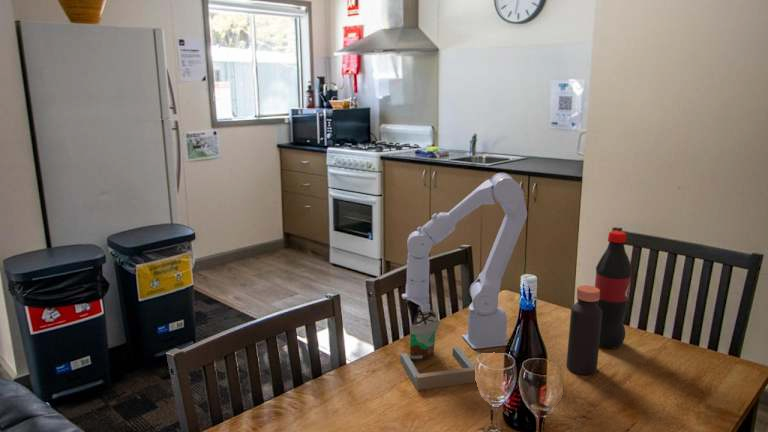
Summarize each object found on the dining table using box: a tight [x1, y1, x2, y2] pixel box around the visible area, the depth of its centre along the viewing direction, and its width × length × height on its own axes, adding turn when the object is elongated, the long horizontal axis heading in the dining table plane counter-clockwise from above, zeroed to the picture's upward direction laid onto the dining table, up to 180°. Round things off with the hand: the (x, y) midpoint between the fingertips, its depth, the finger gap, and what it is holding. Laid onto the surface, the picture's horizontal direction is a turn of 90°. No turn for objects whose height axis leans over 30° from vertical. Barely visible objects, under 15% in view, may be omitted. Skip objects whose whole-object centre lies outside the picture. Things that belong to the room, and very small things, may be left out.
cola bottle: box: [594, 230, 633, 349], centre depth 140 cm, size 8×8×30 cm
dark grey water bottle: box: [566, 284, 602, 376], centre depth 129 cm, size 7×7×20 cm
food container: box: [409, 307, 440, 363], centre depth 137 cm, size 12×6×10 cm, turn 168°
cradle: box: [399, 346, 476, 391], centre depth 129 cm, size 15×14×3 cm
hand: (416, 327), depth 145 cm, fingers closed
